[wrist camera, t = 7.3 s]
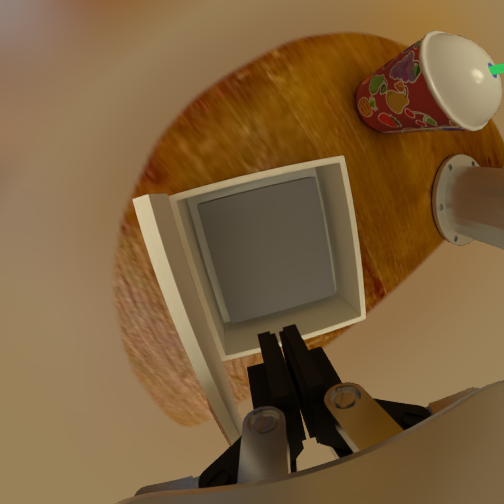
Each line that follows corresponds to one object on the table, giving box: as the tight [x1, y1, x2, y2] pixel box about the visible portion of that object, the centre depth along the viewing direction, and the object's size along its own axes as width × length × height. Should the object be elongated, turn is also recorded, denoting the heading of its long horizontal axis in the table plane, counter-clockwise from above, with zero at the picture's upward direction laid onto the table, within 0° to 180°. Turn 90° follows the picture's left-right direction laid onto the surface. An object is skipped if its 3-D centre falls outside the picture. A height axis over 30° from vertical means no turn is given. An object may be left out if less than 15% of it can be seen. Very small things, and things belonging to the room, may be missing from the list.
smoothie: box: [356, 31, 504, 134], centre depth 17 cm, size 8×8×20 cm
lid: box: [132, 193, 243, 446], centre depth 15 cm, size 14×16×1 cm
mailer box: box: [168, 155, 366, 361], centre depth 26 cm, size 14×15×7 cm
